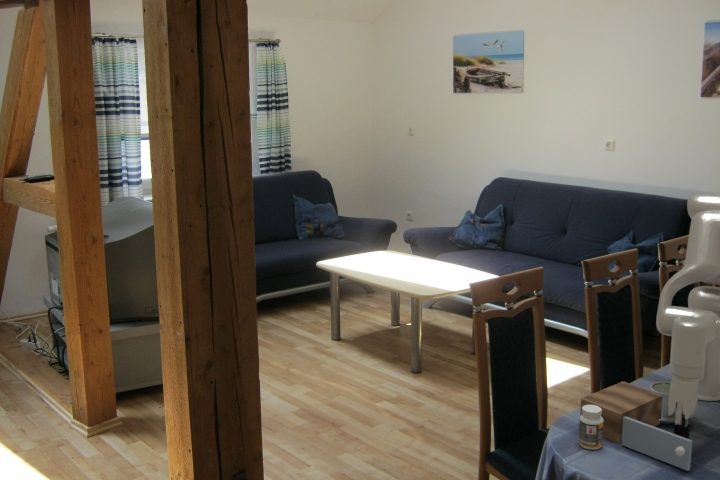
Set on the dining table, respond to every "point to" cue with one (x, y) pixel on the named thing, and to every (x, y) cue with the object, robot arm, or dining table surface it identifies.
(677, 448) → the door
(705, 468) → the dining table surface
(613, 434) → the cabinet
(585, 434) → the pill bottle
